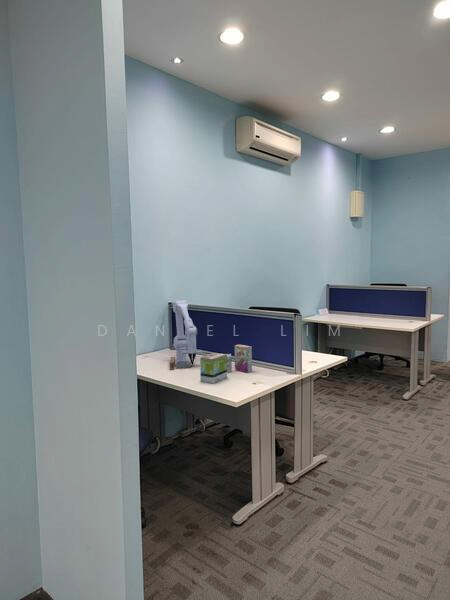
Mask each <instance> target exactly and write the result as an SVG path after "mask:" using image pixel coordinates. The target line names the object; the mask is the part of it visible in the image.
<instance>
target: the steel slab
mask: <svg viewBox="0 0 450 600" xmlns="http://www.w3.org/2000/svg"><path fill="white" fill-rule="evenodd" d="M178 369H179V370H181V369H184V370H185V369H192V365H191V360H187V361H179V362H176V361H175V370H178Z"/></svg>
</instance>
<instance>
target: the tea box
mask: <svg viewBox="0 0 450 600" xmlns="http://www.w3.org/2000/svg"><path fill="white" fill-rule="evenodd" d="M227 354H228V353H218V352H212V353H209V354H206V355H203V356H201V357H200V365H199V367H200V372H199V373H200V382H202V383H203V382H204V383H210V384H215V383H217V382H219V381H222V380H224V379H226V378H227V379H228V372H227Z"/></svg>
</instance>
